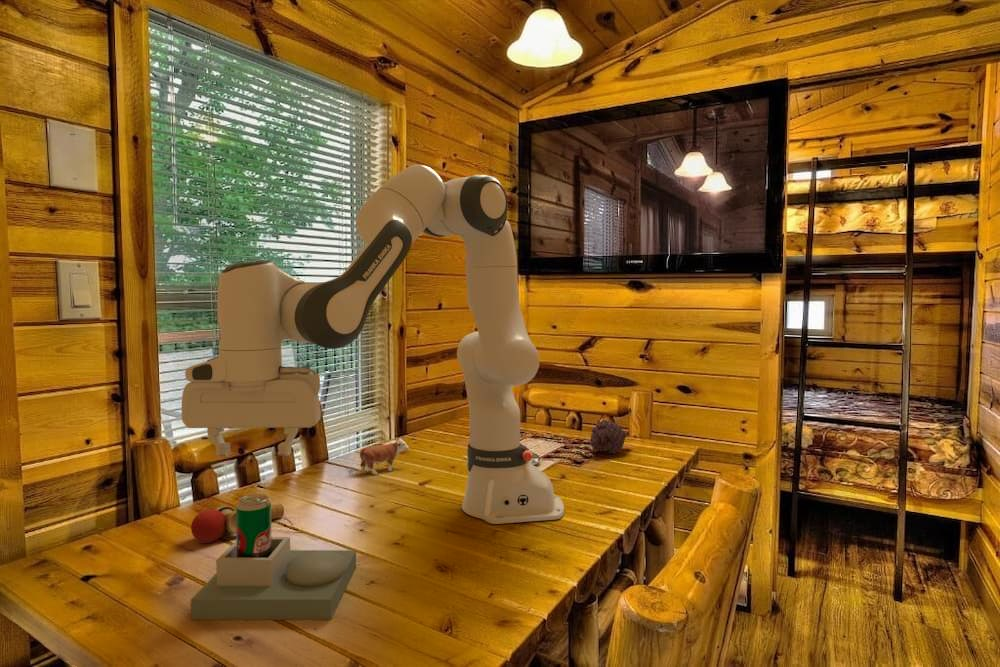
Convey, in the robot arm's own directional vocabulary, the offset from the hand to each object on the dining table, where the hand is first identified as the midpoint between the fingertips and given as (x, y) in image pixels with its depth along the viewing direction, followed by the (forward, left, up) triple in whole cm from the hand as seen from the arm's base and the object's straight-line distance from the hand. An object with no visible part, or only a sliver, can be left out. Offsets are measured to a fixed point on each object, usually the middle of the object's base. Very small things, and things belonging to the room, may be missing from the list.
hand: (254, 455), depth 90 cm
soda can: (0, 0, -19) cm, 19 cm away
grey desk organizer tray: (-4, 0, -22) cm, 22 cm away
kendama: (+13, -23, -22) cm, 35 cm away
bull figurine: (-9, -62, -22) cm, 66 cm away
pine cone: (-72, -80, -22) cm, 110 cm away
